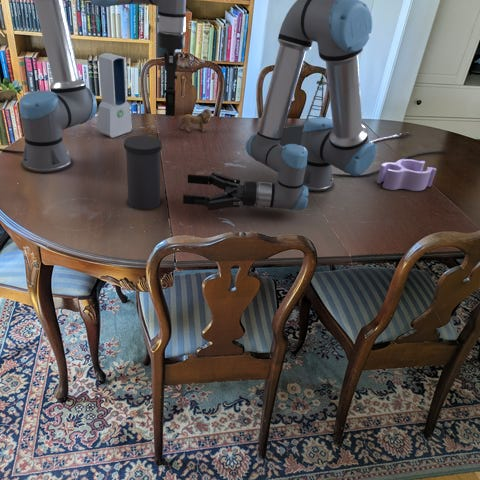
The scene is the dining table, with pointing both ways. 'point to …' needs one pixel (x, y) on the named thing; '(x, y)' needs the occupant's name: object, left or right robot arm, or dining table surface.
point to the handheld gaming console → (291, 135)
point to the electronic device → (113, 97)
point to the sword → (387, 137)
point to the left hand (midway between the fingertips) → (170, 108)
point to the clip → (406, 175)
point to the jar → (143, 180)
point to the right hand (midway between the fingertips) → (185, 188)
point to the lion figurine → (196, 119)
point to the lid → (142, 145)
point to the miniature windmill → (317, 69)
